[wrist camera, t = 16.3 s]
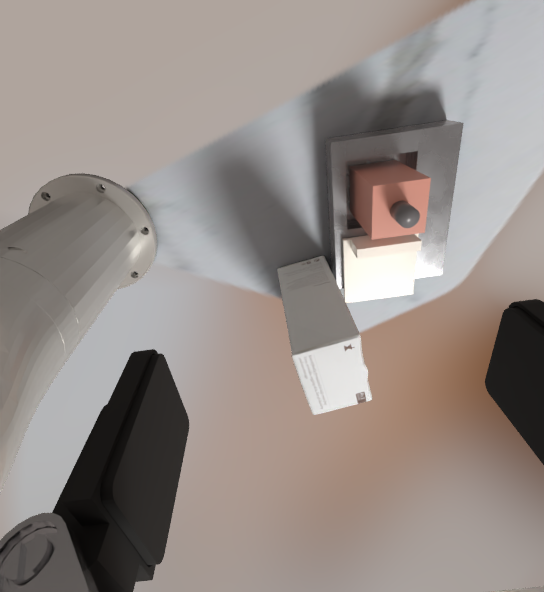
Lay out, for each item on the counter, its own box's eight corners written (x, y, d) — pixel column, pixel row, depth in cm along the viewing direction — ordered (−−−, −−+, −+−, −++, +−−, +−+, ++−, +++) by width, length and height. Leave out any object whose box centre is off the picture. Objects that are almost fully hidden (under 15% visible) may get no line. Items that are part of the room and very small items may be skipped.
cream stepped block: (344, 300, 38) (350, 315, 36) (342, 238, 35) (349, 250, 32) (411, 291, 38) (422, 306, 36) (417, 228, 34) (429, 239, 32)
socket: (331, 276, 40) (336, 289, 38) (325, 138, 33) (330, 142, 30) (429, 263, 40) (441, 274, 37) (446, 120, 32) (463, 122, 30)
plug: (349, 166, 34) (380, 192, 25) (395, 159, 33) (442, 184, 25) (349, 210, 36) (378, 249, 27) (392, 205, 36) (435, 241, 27)
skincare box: (275, 267, 39) (285, 351, 27) (327, 252, 39) (361, 332, 26) (294, 323, 44) (309, 419, 31) (340, 311, 43) (375, 404, 30)
